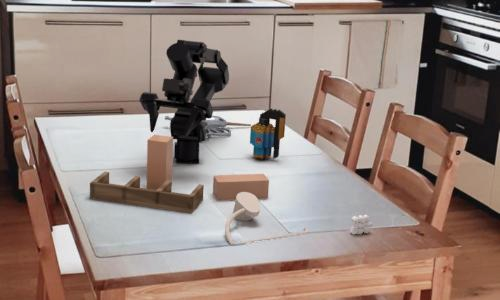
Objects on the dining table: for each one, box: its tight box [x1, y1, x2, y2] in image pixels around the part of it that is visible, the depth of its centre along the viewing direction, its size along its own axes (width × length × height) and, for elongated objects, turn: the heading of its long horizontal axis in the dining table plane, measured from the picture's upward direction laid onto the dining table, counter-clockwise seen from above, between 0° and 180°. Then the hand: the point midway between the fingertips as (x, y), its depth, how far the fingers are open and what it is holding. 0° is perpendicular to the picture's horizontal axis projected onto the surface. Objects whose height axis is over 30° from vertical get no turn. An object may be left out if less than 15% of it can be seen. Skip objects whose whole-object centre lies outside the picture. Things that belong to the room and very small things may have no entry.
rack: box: [89, 171, 204, 214], centre depth 200 cm, size 9×26×4 cm, turn 77°
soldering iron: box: [164, 115, 252, 139], centre depth 257 cm, size 6×28×16 cm
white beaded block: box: [349, 214, 373, 236], centre depth 187 cm, size 5×1×4 cm, turn 115°
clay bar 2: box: [212, 173, 270, 201], centre depth 206 cm, size 13×5×5 cm, turn 104°
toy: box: [249, 108, 286, 161], centre depth 234 cm, size 10×10×15 cm
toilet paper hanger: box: [224, 192, 310, 244], centre depth 188 cm, size 20×5×16 cm
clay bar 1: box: [146, 134, 174, 190], centre depth 207 cm, size 5×5×13 cm
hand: (168, 133), depth 211 cm, fingers open, 9 cm apart
